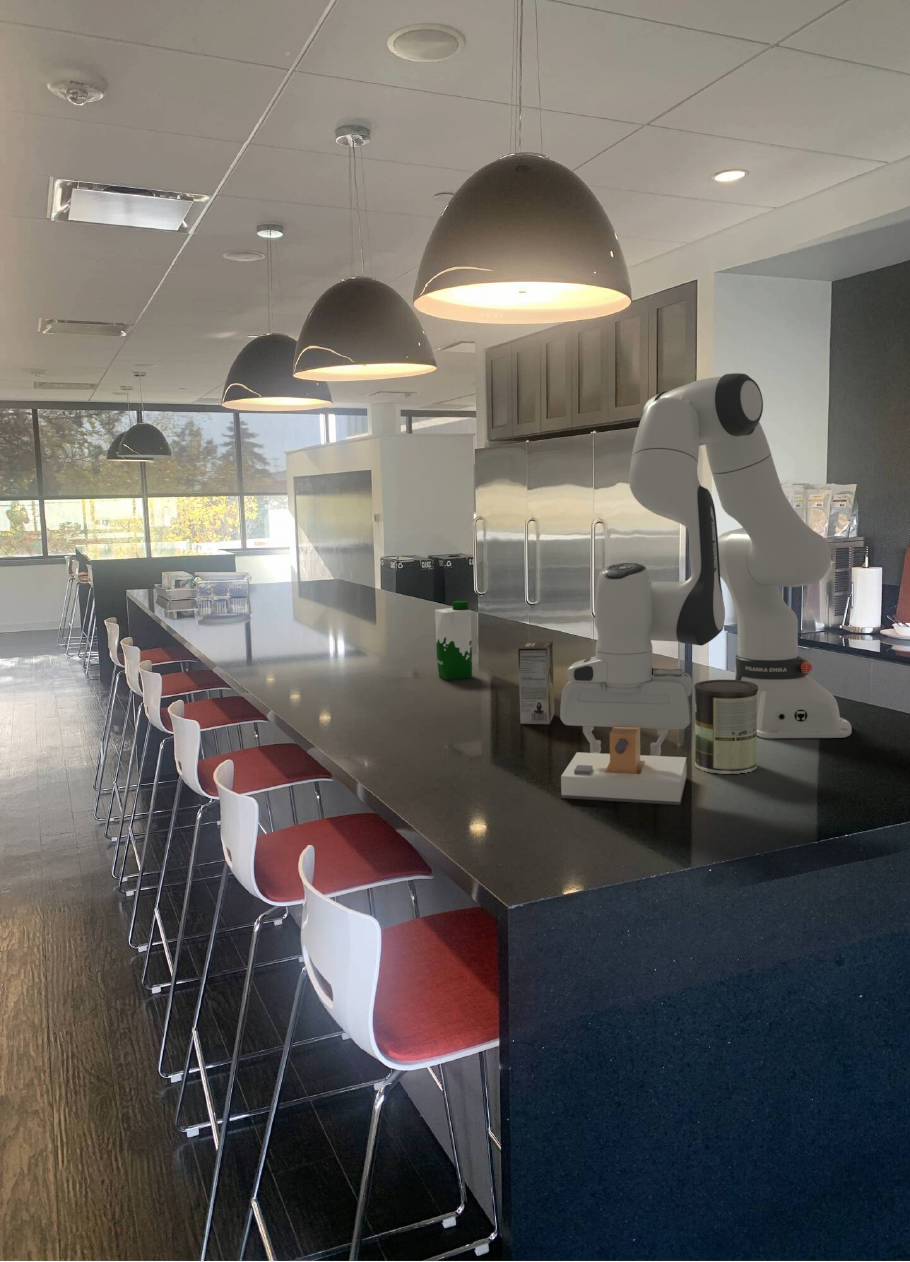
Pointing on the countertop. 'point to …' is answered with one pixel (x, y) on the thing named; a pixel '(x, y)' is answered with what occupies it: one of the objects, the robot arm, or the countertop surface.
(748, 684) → the coffee can
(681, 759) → the socket
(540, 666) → the coffee box
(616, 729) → the plug
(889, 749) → the countertop surface
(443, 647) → the milk carton
